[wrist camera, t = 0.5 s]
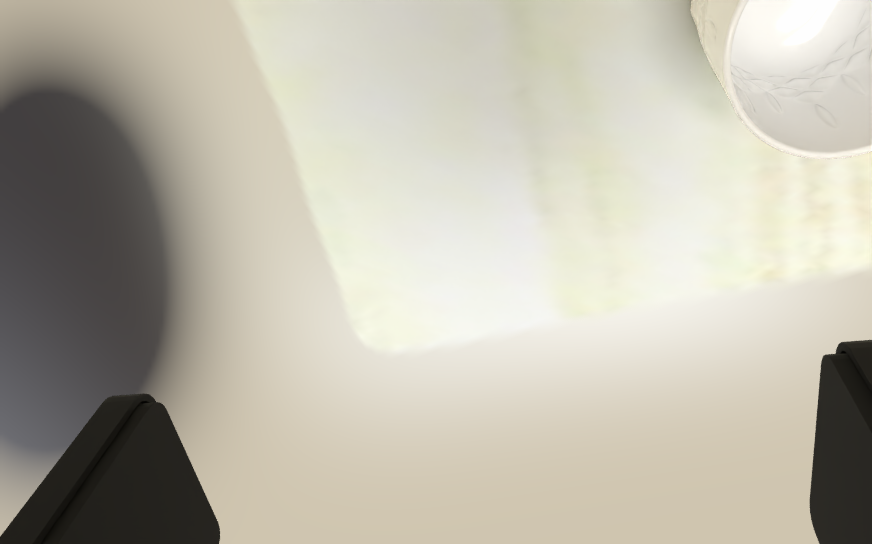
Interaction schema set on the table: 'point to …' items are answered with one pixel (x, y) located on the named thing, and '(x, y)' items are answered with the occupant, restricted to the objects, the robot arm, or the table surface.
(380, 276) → the table surface
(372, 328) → the table surface
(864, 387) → the robot arm
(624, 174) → the table surface
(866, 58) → the white cup
